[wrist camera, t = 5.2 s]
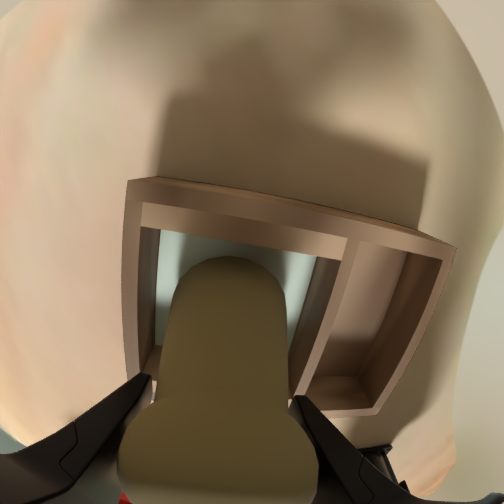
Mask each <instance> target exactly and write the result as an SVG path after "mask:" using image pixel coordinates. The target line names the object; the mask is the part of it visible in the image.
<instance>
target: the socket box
mask: <svg viewBox="0 0 504 504" xmlns="http://www.w3.org/2000/svg"><path fill="white" fill-rule="evenodd" d="M455 252H456V247H453V246H451V245H449V244H447V243H445V242H443V241H441V240H439V239H436V238H434V237H432V236H430V235H427V234H425V233H423V232H421V231H418V230H415V229H412V228H408V227H405V226H401V225H398V224H394V223H391V222H387V221H383V220H379V219H376V218H372V217H368V216H364V215H360V214H356V213H352V212H348V211H344V210H340V209H335V208H331V207H327V206H322V205H318V204H313V203H309V202H304V201H300V200H295V199H290V198H285V197H280V196H275V195H270V194H265V193H260V192H254V191H249V190H243V189H238V188H232V187H226V186H220V185H214V184H207V183H201V182H194V181H187V180H180V179H173V178H165V177H157V176H156V177H148V178H140V179H133V180H128V182H127V190H126V200H125V211H124V223H123V240H122V273H121V289H122V322H123V338H124V351H125V361H126V371H127V379H128V381H129V380H130V379H131V378H133V377H134V376H135V375H137V374H138V373H139V372H144V373H148V374H151V375H152V385H153V393H152V398H151V400H153V401H154V398H155V391H156V384H157V377H158V371H159V365H160V359H161V353H162V348H163V342H164V337H165V331H166V326H167V321H168V316H169V311H170V306H171V301H172V297H173V293H174V291H175V289H176V286H177V284H178V282H179V279H180V278H181V277H182V276H183V275H184V274H185V273H186V272H187V271H188V270H189V269H190V268H191V267H192V266H194V265H196V264H198V263H200V262H202V261H204V260H206V259H209V258H215V257H221V256H233V257H240V258H247V259H249V260H251V261H253V262H255V263H257V264H259V265H262V266H264V267H265V268H266V269H267V270H268V271H269V272H270V273H271V274H272V275H273V276H274V277H275V278H276V279H277V280H278V282H279V284H280V286H281V288H282V290H283V292H284V294H285V300H286V308H287V338H288V408H289V406H290V404H291V401H292V399H293V397H294V396H295V395H306V396H307V397H308V398H309V399H310V400H311V401H312V402H313V403H314V405H315V406H316V407H317V408H318V409H319V410H320V411H321V412H322V413H323V414H324V415H325V416H326V418H343V417H358V416H369V415H377V413H378V412H379V411H380V409H381V408H382V406H383V405H384V403H385V402H386V400H387V399H388V397H389V395H390V394H391V392H392V391H393V389H394V387H395V386H396V384H397V382H398V381H399V379H400V377H401V376H402V374H403V372H404V370H405V369H406V367H407V365H408V363H409V361H410V360H411V358H412V356H413V354H414V352H415V350H416V348H417V346H418V344H419V342H420V340H421V338H422V336H423V334H424V332H425V330H426V328H427V326H428V323H429V321H430V319H431V317H432V314H433V312H434V310H435V307H436V305H437V302H438V300H439V297H440V295H441V292H442V290H443V287H444V284H445V282H446V279H447V276H448V273H449V270H450V267H451V264H452V261H453V258H454V255H455Z"/></svg>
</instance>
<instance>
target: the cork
mask: <svg viewBox="0 0 504 504" xmlns="http://www.w3.org/2000/svg"><path fill="white" fill-rule="evenodd" d="M318 469H319V464H318V460H317V456H316V452H315V448H314V446H313V444H312V443H311V441H310V439H309V438H308V436H307V435H306V433H305V431H304V430H303V429H302V427H301V426H300V425H299V424H298V422H297V421H296V420H295V418H293V417H291V416H290V415H288V338H287V308H286V300H285V294H284V292H283V290H282V288H281V286H280V284H279V282H278V280H277V279H276V278H275V277H274V276H273V275H272V274H271V273H270V272H269V271H268V270H267V269H266V268H265V267H264V266H262V265H259V264H257V263H255V262H253V261H251V260H249V259H247V258H240V257H233V256H221V257H215V258H209V259H206V260H204V261H202V262H200V263H198V264H196V265H194V266H192V267H191V268H190V269H189V270H188V271H187V272H186V273H185V274H184V275H183V276H182V277H181V278H180V279H179V282H178V284H177V286H176V289H175V291H174V293H173V297H172V301H171V306H170V311H169V316H168V321H167V326H166V331H165V337H164V342H163V348H162V353H161V359H160V365H159V371H158V377H157V384H156V391H155V398H154V402H153V403H152V404H150V405H149V406H148V407H146V408H145V409H143V410H142V411H141V412H139V413H138V414H137V415H136V417H135V418H134V419H133V420H132V422H131V423H130V424H129V425H128V426H127V428H126V431H125V434H124V436H123V439H122V441H121V444H120V447H119V450H118V453H117V470H116V474H117V476H118V479H119V482H120V485H121V487H122V490H123V492H124V494H125V495H126V497H127V498H128V500H129V501H130V502H131V503H132V504H311V503H312V501H313V499H314V497H315V495H316V492H317V482H318Z"/></svg>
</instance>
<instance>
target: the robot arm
mask: <svg viewBox="0 0 504 504" xmlns="http://www.w3.org/2000/svg"><path fill="white" fill-rule="evenodd" d="M152 393H153V385H152V375H151V374H148V373H144V372H139V373H138V374H137V375H135V376H134V377H133V378H131V379H130V380H129V381H127V382H126V383H125V384H123V385H122V386H120V387H119V388H118V389H116V390H115V391H114V392H112V393H111V394H110V395H108V396H107V397H106V398H104V399H103V400H101V401H100V402H99V403H97V404H96V405H95V406H93V407H92V408H90V409H89V410H88V411H86V412H85V413H83V414H82V415H81V416H79V417H78V418H76V419H75V420H74V421H75V422H74V421H72V422H71V423H69V424H68V425H66V426H65V427H63V428H62V429H60V430H59V431H57V432H56V433H54V434H52V435H50V436H48V437H46V438H45V439H43V440H41V441H39V442H37V443H34V444H32V445H30V446H28V447H26V448H24V449H22V450H20V451H17V452H14V453H10V454H0V504H118V503H119V500H120V497H121V494H122V491H123V490H122V487H121V485H120V482H119V479H118V476H117V474H116V470H117V453H118V450H119V447H120V444H121V441H122V439H123V436H124V434H125V431H126V428H127V426H128V425H129V424H130V423H131V422H132V420H133V419H134V418H135V417H136V415H137V414H138V413H139V412H141V411H142V410H143V409H145V408H146V407H148V406H149V405H150V403H151V398H152ZM288 415H290V416H291V417H293V418H295V420H296V421H297V422H298V424H299V425H300V426H301V427H302V429H303V430H304V431H305V433H306V435H307V436H308V438H309V439H310V441H311V443H312V444H313V446H314V448H315V452H316V456H317V460H318V464H319V469H318V482H317V492H316V495H315V497H314V499H313V501H312V503H311V504H502V502H504V494H502V493H490V494H489V495H487V496H486V497H484V498H483V499H481V500H478V501H473V502H445V501H430V500H423V499H420V498H417V497H415V496H413V495H412V494H410V491H409V489H408V487H407V484H406V482H405V480H404V481H402V482H400V483H399V484H398V481H397V479H396V477H395V474H394V472H393V469H392V467H391V465H390V462H389V460H388V457H387V454H388V452H389V451H390V450H391V449H392V448H393V447H392V445H385V446H380V447H375V448H369V449H362V450H357V449H356V448H355V447H354V446H353V445H352V444H351V443H350V442H349V441H348V440H347V439H346V438H345V436H344V435H343V434H342V433H341V432H340V431H339V430H338V429H337V428H336V427H335V426H334V425H333V424H332V423H331V422H330V421H329V420H328V419H327V418H326V416H325V415H324V414H323V413H322V412H321V411H320V410H319V409H318V408H317V407H316V406H315V405H314V403H313V402H312V401H311V400H310V399H309V398H308V397H307V396H306V395H295V396H294V397H293V399H292V401H291V404H290V406H289V408H288Z"/></svg>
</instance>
